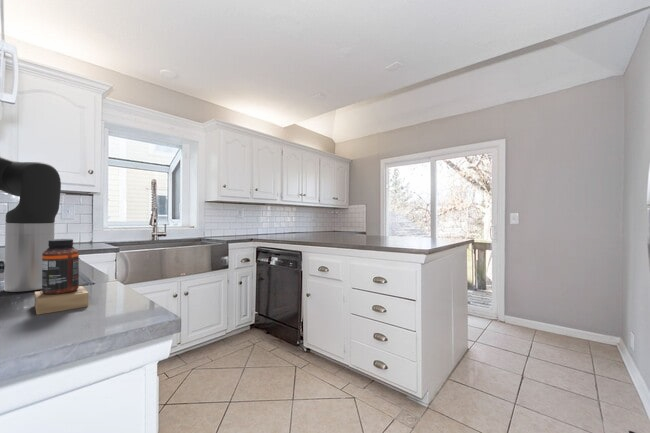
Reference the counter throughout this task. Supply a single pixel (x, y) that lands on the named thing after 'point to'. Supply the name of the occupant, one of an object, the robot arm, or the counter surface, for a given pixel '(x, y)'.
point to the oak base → (60, 301)
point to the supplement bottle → (60, 267)
